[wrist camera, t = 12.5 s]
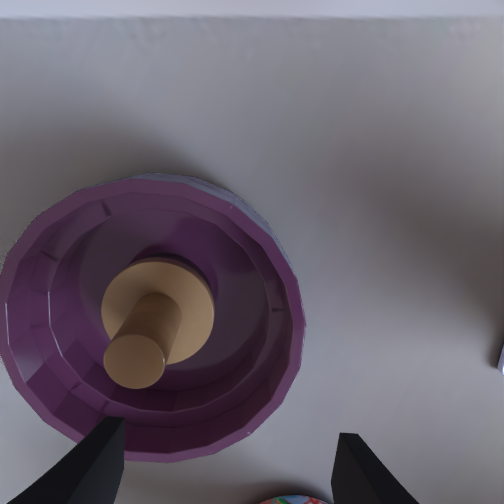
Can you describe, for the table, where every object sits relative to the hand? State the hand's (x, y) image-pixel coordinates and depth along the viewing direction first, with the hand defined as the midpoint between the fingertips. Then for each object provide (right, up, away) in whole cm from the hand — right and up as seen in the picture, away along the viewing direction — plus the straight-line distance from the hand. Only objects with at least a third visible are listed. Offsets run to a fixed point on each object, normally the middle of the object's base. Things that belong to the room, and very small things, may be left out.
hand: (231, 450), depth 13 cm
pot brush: (-4, +4, +9) cm, 11 cm away
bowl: (-4, +4, +10) cm, 11 cm away
